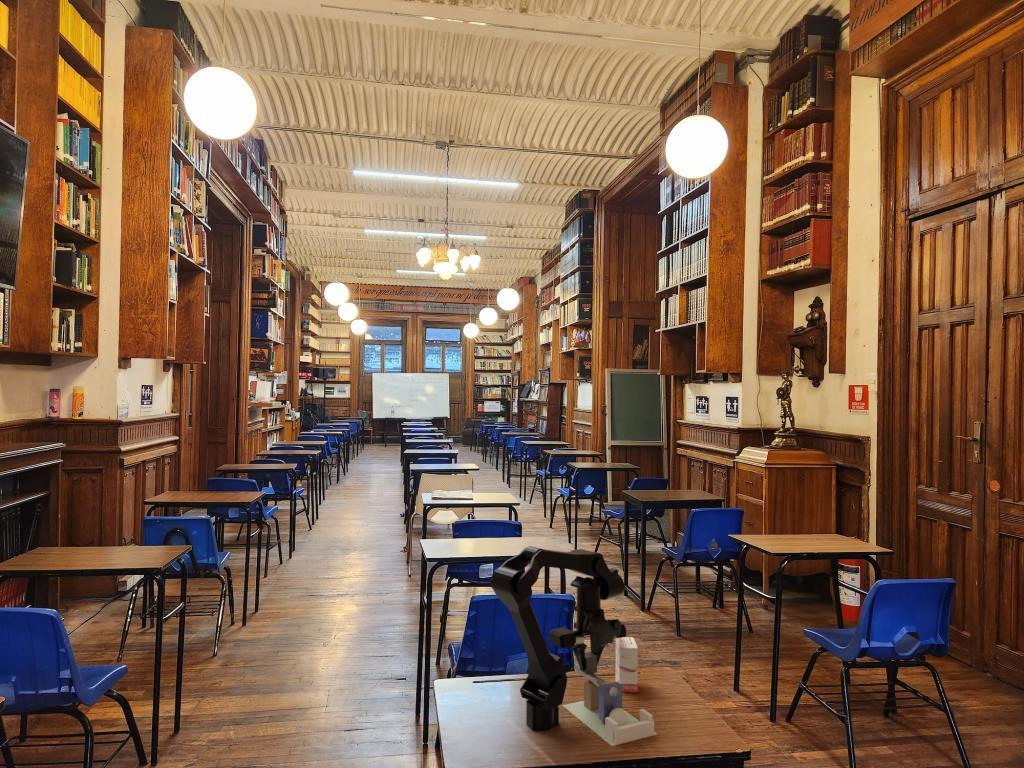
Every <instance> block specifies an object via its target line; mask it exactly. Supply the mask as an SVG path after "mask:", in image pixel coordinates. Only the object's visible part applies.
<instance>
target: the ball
mask: <svg viewBox="0 0 1024 768" xmlns="http://www.w3.org/2000/svg"><path fill="white" fill-rule="evenodd" d="M624 710H625V709H623V708H622V709H621V708H614V709H613V710H612V711H611V712H610V715H609V717H610V718H612V719H613V720H614V721H615V722H617V723H618V727H621V726H625V724H626V723H627V714H626V712H627V711H626V710H625V711H626V712H625V711H624Z"/></svg>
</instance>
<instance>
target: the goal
mask: <svg viewBox="0 0 1024 768" xmlns="http://www.w3.org/2000/svg"><path fill="white" fill-rule="evenodd" d="M638 714H639V719H638V720H639V722H637V723H633V724H629V725H625V726H621V727H618V723H617V722H615V721H614V720H613V719H612V718H610V717H606V718H605V737H607V738H608V739H609V740H610V741H612V742H613V743H614V744H615V745H614V746H618V745H622V744H626V743H629V741H630V742H634V741H637V739H638V740H641V738H642V739H645V737H646V738H650V737H653V735H654V732H655V720H654V715H653V714H652V713H650V712H648V711H647V710H646V709H644V708H641V709H639V713H638ZM649 736H650V737H649ZM654 736H655V735H654ZM633 740H634V741H633ZM625 742H626V743H625ZM621 743H622V744H621ZM617 744H618V745H617Z"/></svg>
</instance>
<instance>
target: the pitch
mask: <svg viewBox="0 0 1024 768" xmlns="http://www.w3.org/2000/svg"><path fill="white" fill-rule="evenodd" d="M561 705H562V707H564V708H565V709H566V710H567V711H568V712H570V713H571V714H572V715H573V716H574V717H576V719H578V720H580V722H582V723H583V724H584V725H585V726H586V727H588V728H589V729H590V730H591V731H593V732H594V733H595V734H596V735H598V736H599V737H600V738H601V739H602V740H604V741H605V742H606V743H607V744H608V745H610V746H611V747H615V746H618V745H619V744H617V745H615V744H614V743H613V742H612V741H610V740H609V739H608V738H607V737H605V722H603V721H601V720H600V719H599V687H598V686H596V685H595V684H594V683H592V682H591V681H589V680H585V681H583V700H581V701H576V702H572V703H571V702H570V703H567V704H561ZM623 710H624V711H625V712H626V714H627V723H626V724H625V725H629V724H633V723H637V722H639V719H638V718H636V717H635V716H633V715H631V714H630V713H629V712H628V711H626V710H625V709H623ZM658 735H659V734H658V733H657V732H656V731H654V735H653V736H658ZM653 736H652V737H653ZM650 737H651V736H649V737H648V738H650ZM645 738H647V737H645ZM645 738H644V739H645ZM641 739H643V738H641ZM641 739H640V740H641ZM637 740H639V739H637ZM637 740H636V741H637ZM634 741H635V740H633V741H632V742H634ZM629 742H631V741H629ZM629 742H628V743H629ZM626 743H627V742H625V743H624V744H626ZM622 744H623V743H621V744H620V745H622Z"/></svg>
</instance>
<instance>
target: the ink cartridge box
mask: <svg viewBox="0 0 1024 768" xmlns="http://www.w3.org/2000/svg"><path fill="white" fill-rule="evenodd" d="M614 672H615V679H614V680H615V682H618V683H620V684H621V685H622V693H624V692H625V693H626V692H627V693H628V692H630V693H631V692H633V693H636V692H639V677H638V676H639V648H638V645H637V643H636V640H635V638H634V637H627V636H626V637H622V638H616V637H615V671H614Z"/></svg>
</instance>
